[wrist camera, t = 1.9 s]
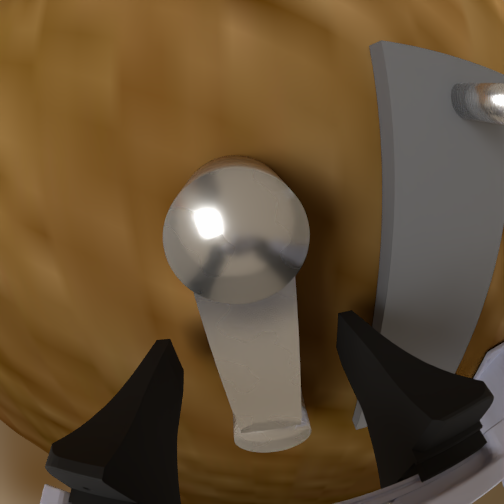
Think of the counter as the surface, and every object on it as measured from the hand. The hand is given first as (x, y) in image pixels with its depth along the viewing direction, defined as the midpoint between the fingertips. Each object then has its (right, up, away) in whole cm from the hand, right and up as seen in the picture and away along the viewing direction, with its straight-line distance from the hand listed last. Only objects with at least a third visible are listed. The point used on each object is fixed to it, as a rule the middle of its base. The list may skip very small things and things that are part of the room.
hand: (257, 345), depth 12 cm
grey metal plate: (+10, +2, +1) cm, 10 cm away
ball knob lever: (0, +1, +1) cm, 2 cm away
